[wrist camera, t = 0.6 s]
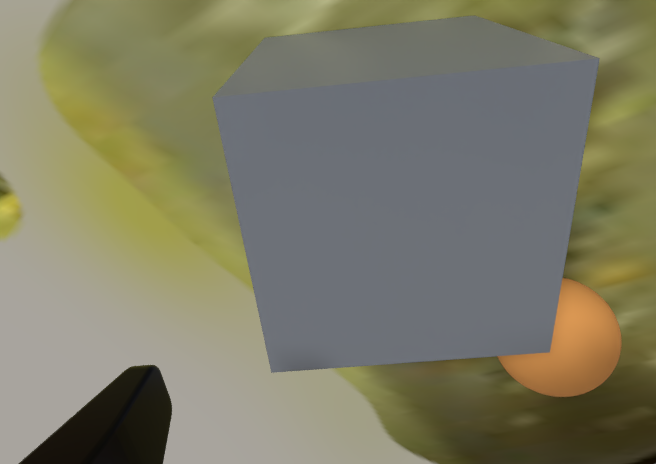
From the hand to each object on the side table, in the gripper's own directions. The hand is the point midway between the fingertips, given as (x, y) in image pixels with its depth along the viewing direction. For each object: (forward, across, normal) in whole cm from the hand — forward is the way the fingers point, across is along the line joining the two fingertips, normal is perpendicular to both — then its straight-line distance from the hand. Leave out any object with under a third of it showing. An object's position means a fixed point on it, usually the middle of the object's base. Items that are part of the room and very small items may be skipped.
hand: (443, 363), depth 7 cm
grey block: (+13, 0, 0) cm, 13 cm away
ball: (+10, -7, +9) cm, 15 cm away
